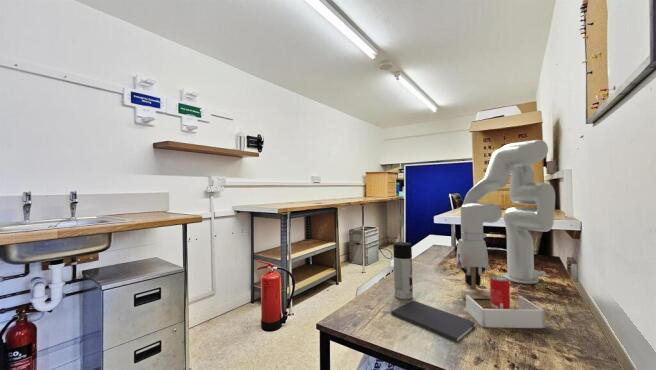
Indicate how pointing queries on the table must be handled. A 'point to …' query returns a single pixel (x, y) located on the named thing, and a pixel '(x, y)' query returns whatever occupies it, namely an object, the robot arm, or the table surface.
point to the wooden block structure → (472, 290)
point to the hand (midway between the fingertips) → (472, 284)
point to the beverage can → (499, 292)
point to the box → (508, 315)
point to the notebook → (434, 320)
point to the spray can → (403, 270)
